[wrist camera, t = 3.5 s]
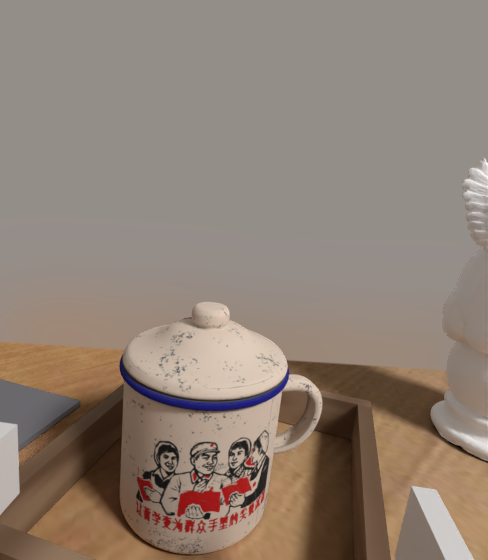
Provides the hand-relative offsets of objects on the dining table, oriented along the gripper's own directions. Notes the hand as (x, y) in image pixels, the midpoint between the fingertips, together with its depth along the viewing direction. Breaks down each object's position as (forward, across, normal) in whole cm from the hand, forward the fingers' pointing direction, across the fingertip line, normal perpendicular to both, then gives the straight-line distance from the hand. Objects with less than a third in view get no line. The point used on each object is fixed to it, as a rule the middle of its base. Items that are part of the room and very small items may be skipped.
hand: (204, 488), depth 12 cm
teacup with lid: (+9, 0, -8) cm, 12 cm away
